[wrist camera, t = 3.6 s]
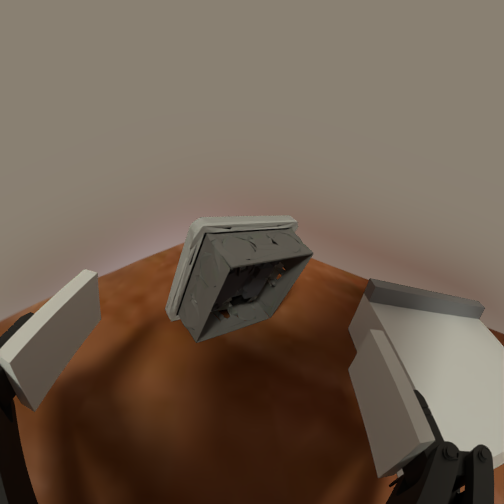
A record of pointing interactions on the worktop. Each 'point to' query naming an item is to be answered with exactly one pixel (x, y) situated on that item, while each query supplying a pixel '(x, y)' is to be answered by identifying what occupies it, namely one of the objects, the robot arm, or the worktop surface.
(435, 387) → the white square box
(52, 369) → the robot arm
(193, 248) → the electrical switch
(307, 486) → the worktop surface
